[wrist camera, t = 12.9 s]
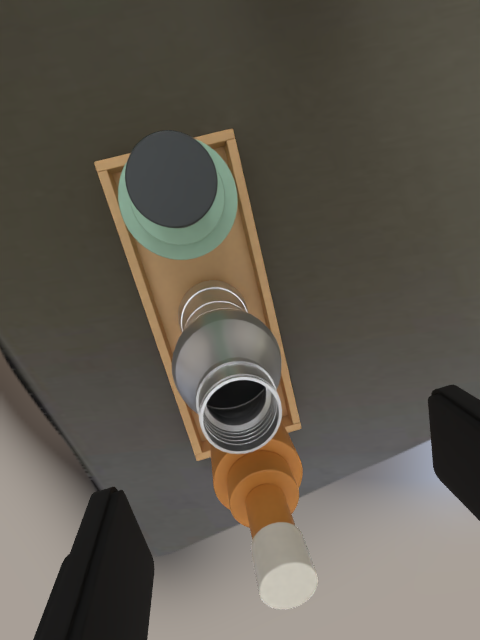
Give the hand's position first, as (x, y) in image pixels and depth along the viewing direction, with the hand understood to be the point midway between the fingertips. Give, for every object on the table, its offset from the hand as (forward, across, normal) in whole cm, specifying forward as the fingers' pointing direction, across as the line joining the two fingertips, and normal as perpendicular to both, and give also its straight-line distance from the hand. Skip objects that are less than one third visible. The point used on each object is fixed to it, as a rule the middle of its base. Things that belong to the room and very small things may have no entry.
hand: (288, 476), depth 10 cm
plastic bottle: (+25, +1, +1) cm, 25 cm away
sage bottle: (+25, +1, -9) cm, 26 cm away
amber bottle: (+24, +1, +10) cm, 26 cm away
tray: (+25, +1, +1) cm, 25 cm away
